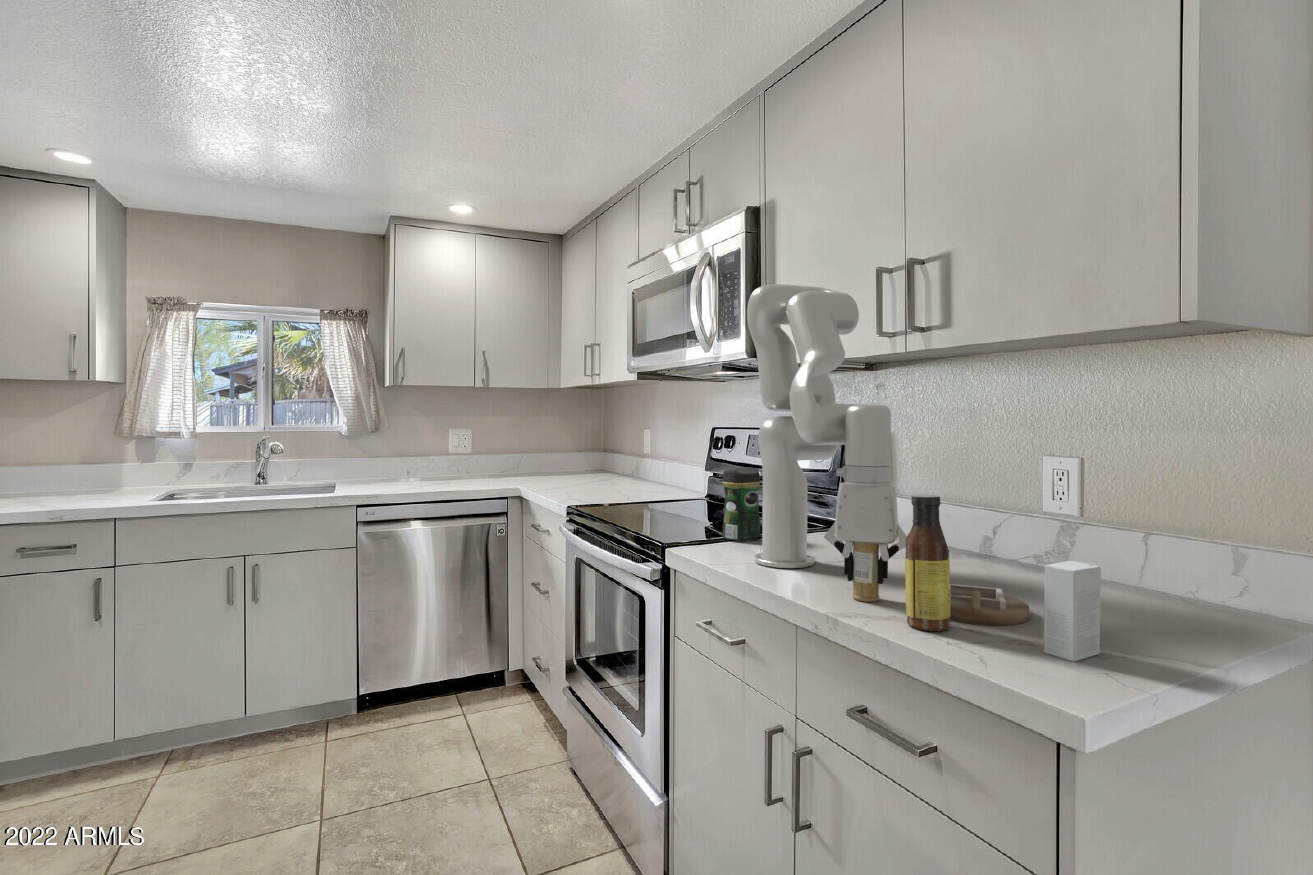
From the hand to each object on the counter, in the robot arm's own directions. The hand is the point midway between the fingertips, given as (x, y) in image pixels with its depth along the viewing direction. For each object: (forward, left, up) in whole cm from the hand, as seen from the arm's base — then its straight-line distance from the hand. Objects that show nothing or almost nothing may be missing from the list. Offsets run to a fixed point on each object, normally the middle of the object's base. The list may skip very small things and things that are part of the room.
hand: (865, 579), depth 116 cm
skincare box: (+17, +28, -4) cm, 33 cm away
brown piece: (0, +17, -3) cm, 17 cm away
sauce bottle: (+12, +10, -4) cm, 16 cm away
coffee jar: (-46, -35, -4) cm, 58 cm away
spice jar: (0, 0, -4) cm, 4 cm away
